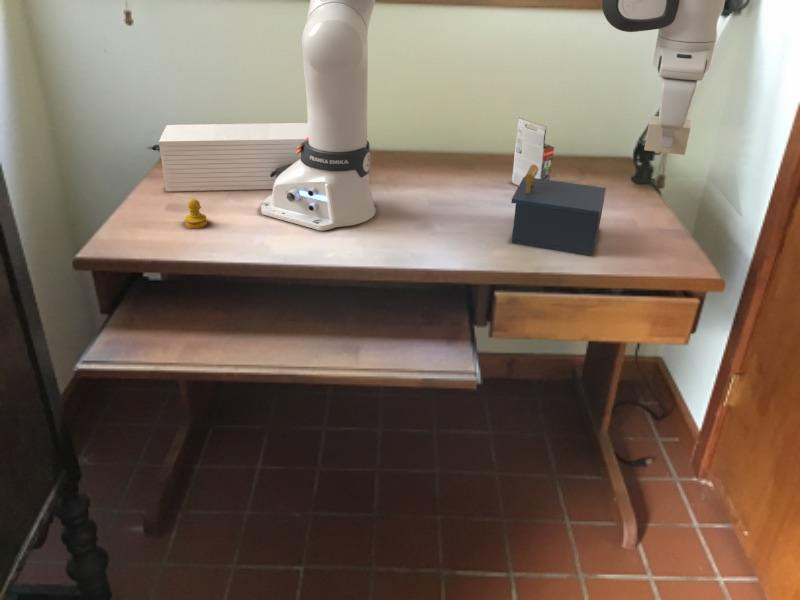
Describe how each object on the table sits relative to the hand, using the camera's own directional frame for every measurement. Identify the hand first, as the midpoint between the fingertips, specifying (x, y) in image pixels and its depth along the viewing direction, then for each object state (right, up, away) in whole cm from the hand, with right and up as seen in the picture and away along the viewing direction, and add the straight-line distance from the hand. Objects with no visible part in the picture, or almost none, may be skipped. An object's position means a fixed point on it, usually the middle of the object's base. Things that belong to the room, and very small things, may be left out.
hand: (666, 140), depth 127 cm
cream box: (0, -1, +1) cm, 2 cm away
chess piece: (-83, -13, +16) cm, 86 cm away
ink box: (-17, -3, +35) cm, 39 cm away
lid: (-16, -8, +10) cm, 21 cm away
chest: (-16, -15, +14) cm, 26 cm away
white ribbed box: (-78, -1, +35) cm, 85 cm away
